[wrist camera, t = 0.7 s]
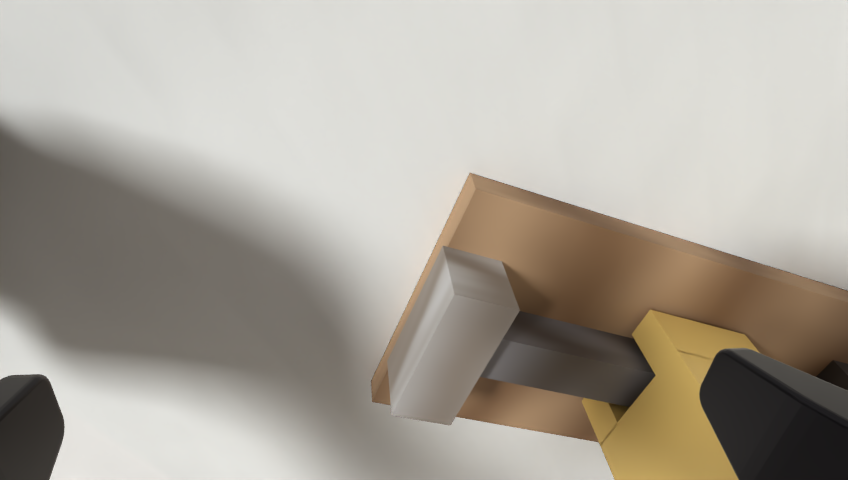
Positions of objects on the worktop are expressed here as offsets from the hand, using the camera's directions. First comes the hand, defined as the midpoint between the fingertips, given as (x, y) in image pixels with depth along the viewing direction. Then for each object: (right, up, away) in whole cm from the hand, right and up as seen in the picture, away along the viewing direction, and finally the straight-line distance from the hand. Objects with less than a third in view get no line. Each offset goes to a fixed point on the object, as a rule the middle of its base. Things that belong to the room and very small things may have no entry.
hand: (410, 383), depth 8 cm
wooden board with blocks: (+10, -3, +19) cm, 22 cm away
